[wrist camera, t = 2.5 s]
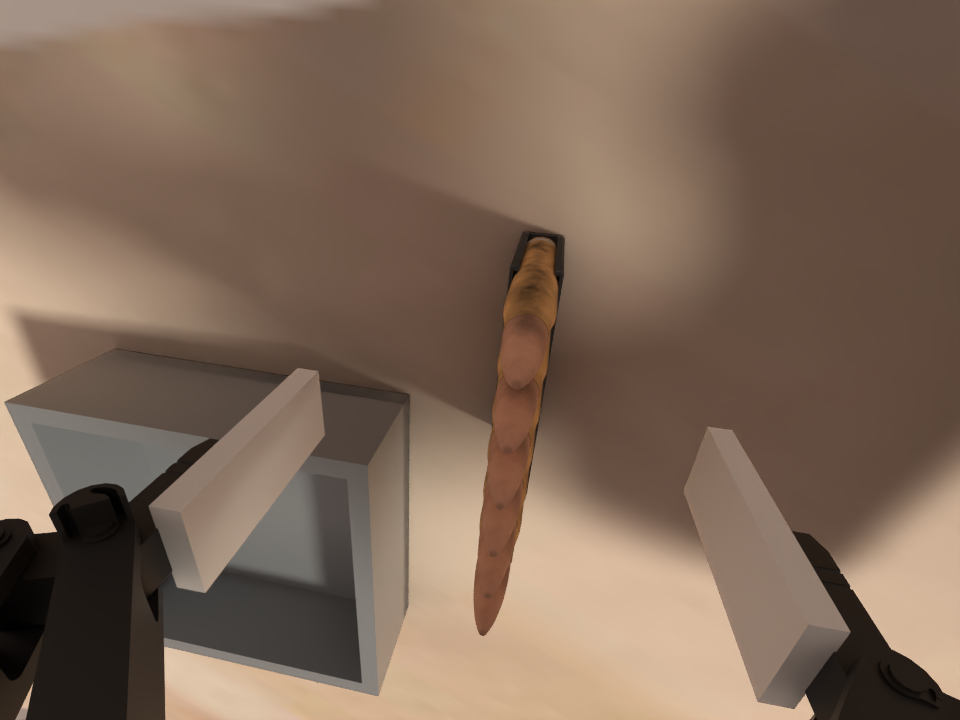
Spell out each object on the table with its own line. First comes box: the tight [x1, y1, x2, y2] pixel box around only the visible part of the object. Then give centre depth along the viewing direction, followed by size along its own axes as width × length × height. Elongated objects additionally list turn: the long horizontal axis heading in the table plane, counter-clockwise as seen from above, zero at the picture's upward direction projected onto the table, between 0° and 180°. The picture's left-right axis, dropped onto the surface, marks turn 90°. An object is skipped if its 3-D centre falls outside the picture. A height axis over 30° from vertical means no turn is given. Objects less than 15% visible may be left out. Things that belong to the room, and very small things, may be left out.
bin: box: [4, 349, 409, 696], centre depth 27 cm, size 18×18×6 cm
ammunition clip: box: [474, 231, 565, 636], centre depth 17 cm, size 11×2×12 cm, turn 175°
